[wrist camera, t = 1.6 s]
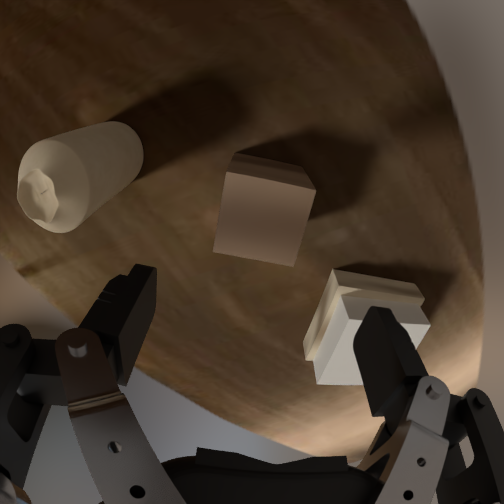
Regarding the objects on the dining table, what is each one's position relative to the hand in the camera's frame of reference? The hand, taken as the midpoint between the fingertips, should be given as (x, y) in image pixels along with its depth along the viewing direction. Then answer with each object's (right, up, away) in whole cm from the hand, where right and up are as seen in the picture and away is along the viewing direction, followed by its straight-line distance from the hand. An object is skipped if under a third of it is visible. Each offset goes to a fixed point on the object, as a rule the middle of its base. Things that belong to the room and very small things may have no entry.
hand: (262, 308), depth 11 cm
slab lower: (+10, -4, +18) cm, 21 cm away
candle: (-11, +10, +11) cm, 18 cm away
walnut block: (0, +7, +12) cm, 14 cm away
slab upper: (+10, -5, +15) cm, 19 cm away
